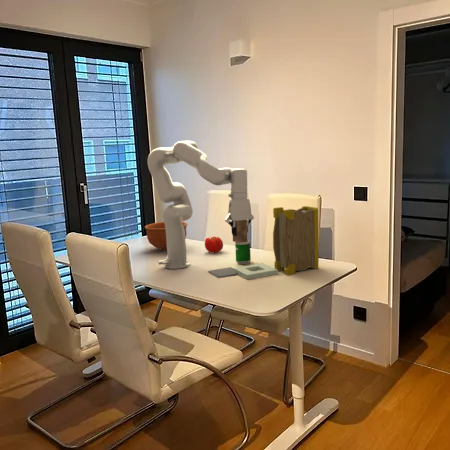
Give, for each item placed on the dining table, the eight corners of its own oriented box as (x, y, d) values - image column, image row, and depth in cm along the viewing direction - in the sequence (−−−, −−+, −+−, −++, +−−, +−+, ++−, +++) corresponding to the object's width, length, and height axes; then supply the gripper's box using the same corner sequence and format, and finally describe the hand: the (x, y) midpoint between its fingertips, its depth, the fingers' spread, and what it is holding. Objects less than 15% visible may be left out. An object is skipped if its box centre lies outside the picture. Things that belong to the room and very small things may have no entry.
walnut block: (237, 243, 217) (237, 221, 215) (232, 241, 222) (232, 220, 220) (247, 241, 219) (247, 220, 218) (242, 239, 224) (241, 219, 222)
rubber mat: (218, 278, 216) (218, 276, 216) (208, 272, 227) (208, 270, 227) (242, 273, 221) (241, 272, 221) (230, 268, 232) (230, 267, 232)
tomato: (206, 255, 261) (206, 240, 259) (203, 251, 271) (202, 236, 270) (225, 253, 263) (224, 238, 262) (221, 249, 274) (220, 234, 272)
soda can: (252, 261, 243) (252, 238, 241) (247, 265, 237) (246, 241, 235) (239, 260, 246) (238, 238, 244) (233, 264, 240) (232, 240, 238)
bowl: (179, 255, 264) (177, 228, 262) (138, 253, 271) (136, 228, 269) (194, 245, 288) (193, 221, 285) (156, 244, 295) (155, 220, 292)
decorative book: (307, 264, 234) (306, 203, 228) (320, 269, 224) (320, 206, 219) (272, 270, 225) (270, 208, 220) (285, 275, 215) (283, 210, 210)
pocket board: (247, 279, 212) (247, 275, 212) (233, 272, 225) (233, 268, 225) (277, 273, 219) (277, 269, 219) (262, 267, 232) (262, 263, 231)
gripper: (226, 198, 210) (226, 238, 213) (259, 195, 217) (259, 234, 220) (218, 196, 216) (219, 235, 220) (251, 193, 224) (251, 231, 227)
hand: (239, 234), depth 220 cm, fingers closed on walnut block, 5 cm apart
